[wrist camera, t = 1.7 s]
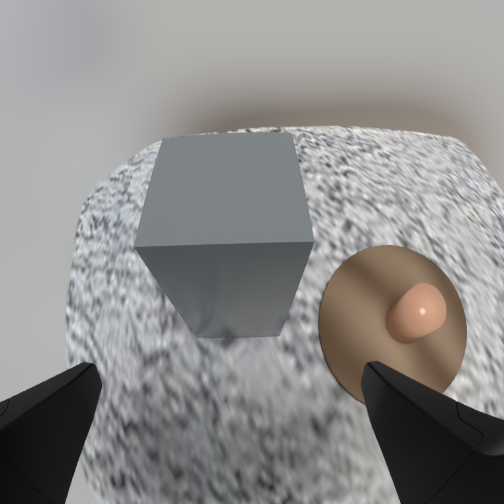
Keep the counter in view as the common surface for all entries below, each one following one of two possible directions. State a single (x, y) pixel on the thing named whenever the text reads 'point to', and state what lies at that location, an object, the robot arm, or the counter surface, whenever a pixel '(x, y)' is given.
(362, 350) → the plate
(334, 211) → the counter surface
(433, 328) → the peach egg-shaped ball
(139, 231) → the grey tall block
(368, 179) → the counter surface
